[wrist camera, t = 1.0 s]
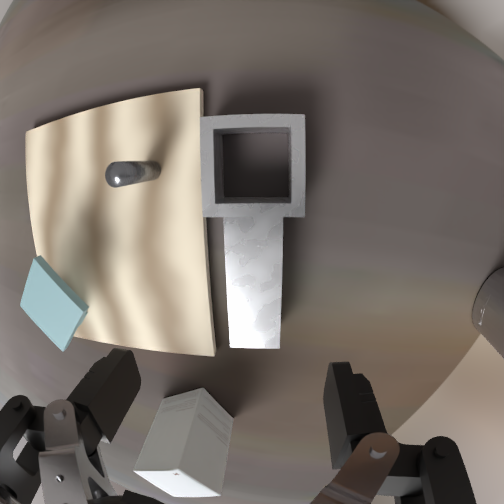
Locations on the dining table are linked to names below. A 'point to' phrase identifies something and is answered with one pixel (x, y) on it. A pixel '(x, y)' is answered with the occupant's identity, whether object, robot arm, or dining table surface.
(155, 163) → the cylinder
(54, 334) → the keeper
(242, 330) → the link
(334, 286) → the dining table surface
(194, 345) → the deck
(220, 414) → the supplement box
